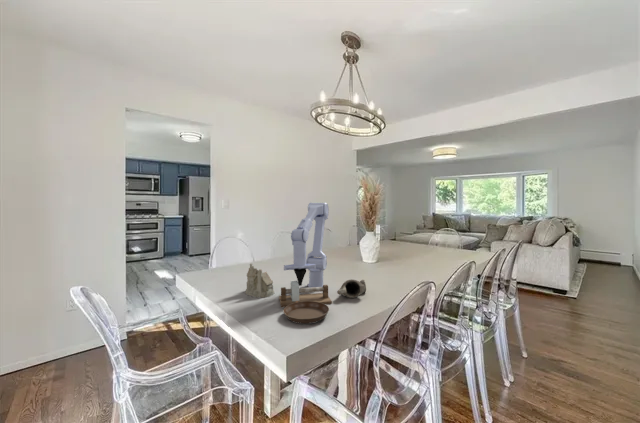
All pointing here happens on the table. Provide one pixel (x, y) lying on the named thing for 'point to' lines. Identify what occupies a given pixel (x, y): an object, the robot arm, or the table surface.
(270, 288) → the ceramic cottage
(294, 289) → the collar
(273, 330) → the table surface
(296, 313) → the plant saucer
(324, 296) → the rod stand
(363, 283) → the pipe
